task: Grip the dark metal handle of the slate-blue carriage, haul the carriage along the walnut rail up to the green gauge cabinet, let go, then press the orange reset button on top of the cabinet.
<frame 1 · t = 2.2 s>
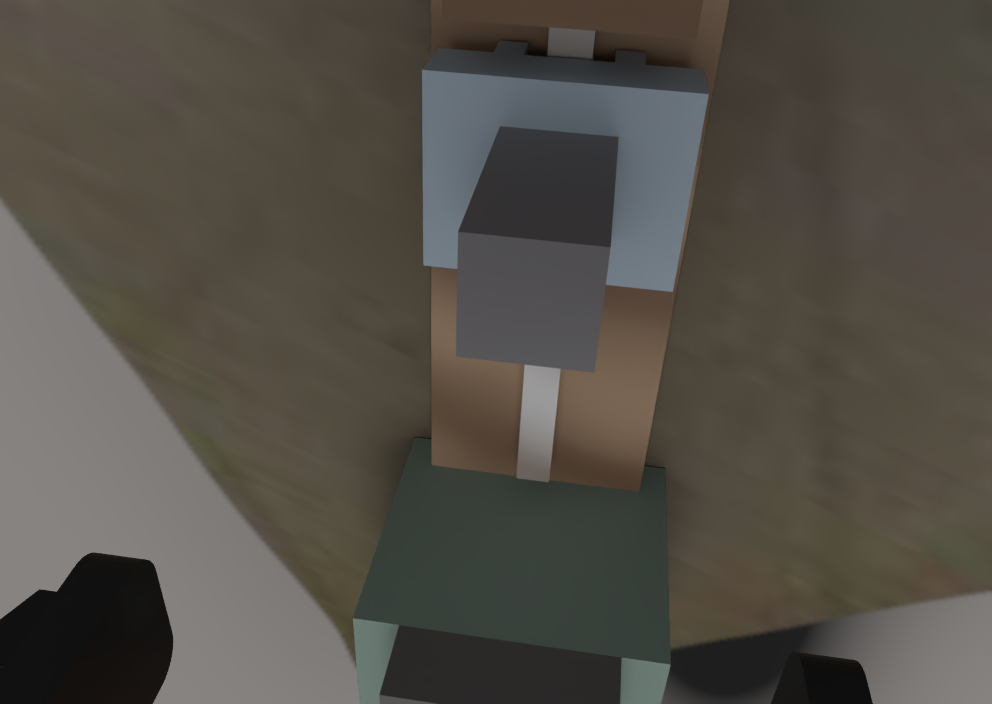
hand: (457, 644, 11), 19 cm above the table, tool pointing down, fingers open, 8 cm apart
gauge cabinet: (532, 515, 36), on the table
carriage: (549, 209, 22), point 6 cm above the table, slide at -4.0 cm
rail stand: (557, 237, 29), on the table
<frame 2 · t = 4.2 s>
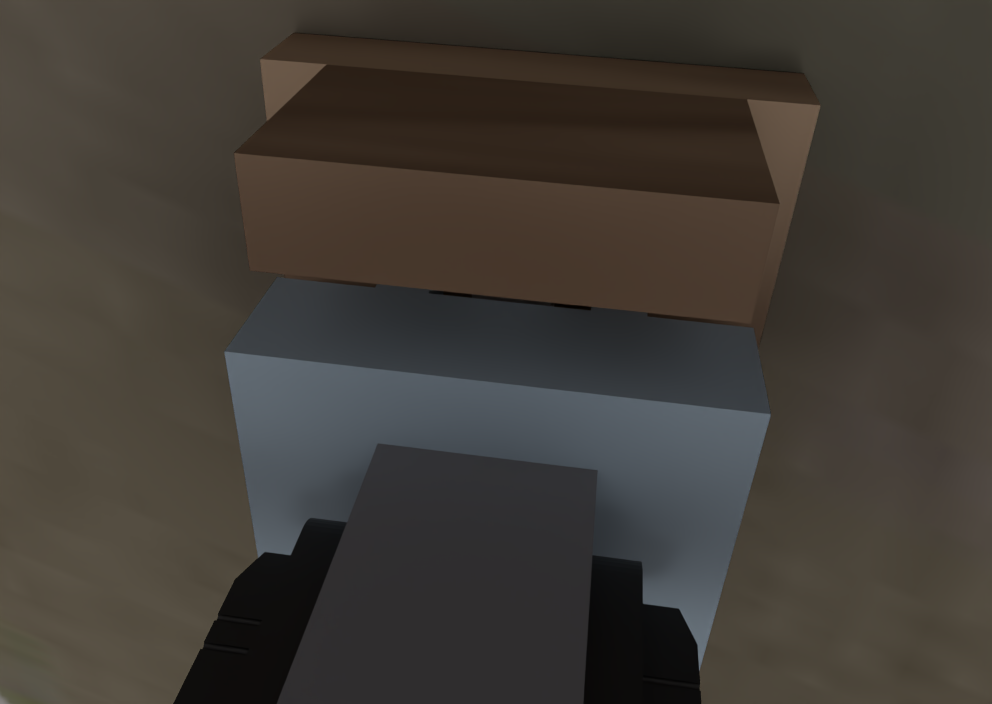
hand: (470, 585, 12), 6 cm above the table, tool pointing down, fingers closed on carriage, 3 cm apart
carriage: (466, 612, 11), point 6 cm above the table, slide at -4.0 cm, touching gripper
rail stand: (511, 497, 19), on the table
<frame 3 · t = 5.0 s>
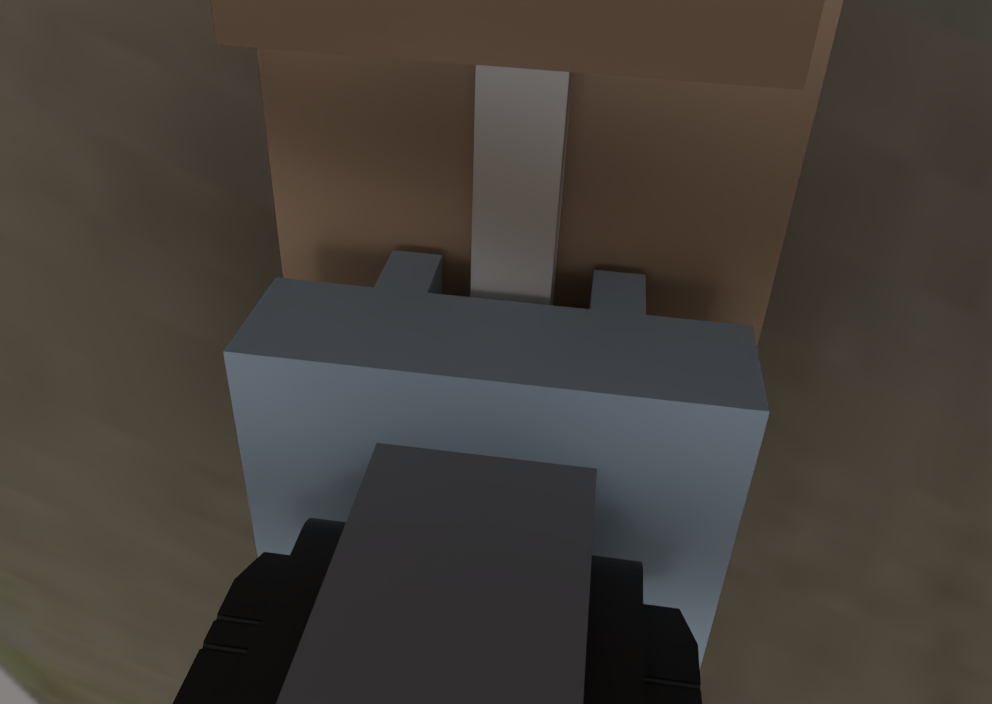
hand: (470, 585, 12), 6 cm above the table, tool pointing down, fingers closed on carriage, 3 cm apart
carriage: (466, 611, 11), point 6 cm above the table, slide at -1.3 cm, touching gripper
rail stand: (517, 399, 17), on the table
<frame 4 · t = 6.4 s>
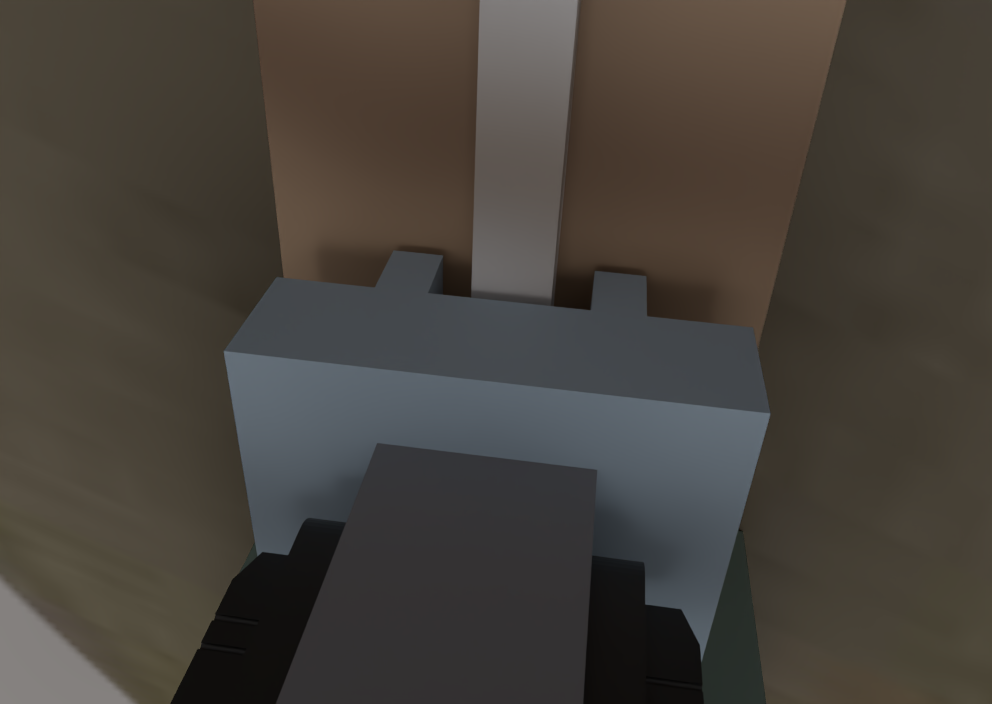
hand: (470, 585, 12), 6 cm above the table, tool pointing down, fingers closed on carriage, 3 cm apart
gauge cabinet: (503, 607, 21), on the table
carriage: (466, 612, 11), point 6 cm above the table, slide at 5.4 cm, touching gripper
rail stand: (540, 61, 14), on the table
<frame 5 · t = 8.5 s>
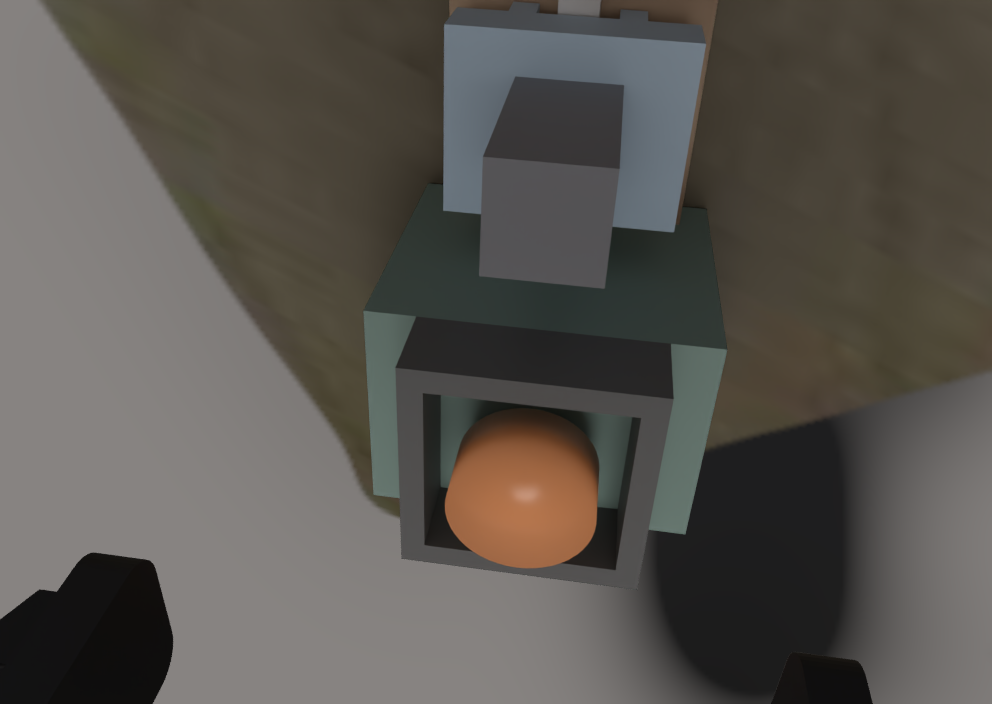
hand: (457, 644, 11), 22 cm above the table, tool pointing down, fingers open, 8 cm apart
gauge cabinet: (557, 280, 33), on the table
reset button: (524, 489, 24), point 12 cm above the table, slide at 0.0 cm
carriage: (561, 151, 24), point 6 cm above the table, slide at 5.4 cm
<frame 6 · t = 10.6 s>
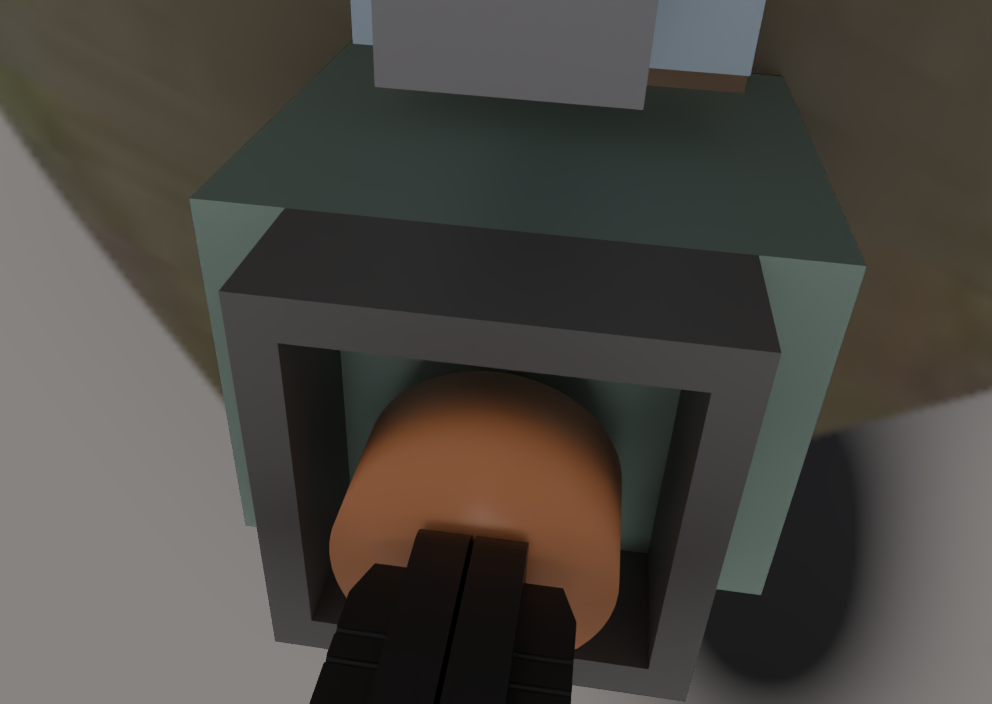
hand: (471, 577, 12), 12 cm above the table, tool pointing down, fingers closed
gauge cabinet: (550, 197, 22), on the table
reset button: (482, 522, 13), point 11 cm above the table, slide at 0.1 cm, touching gripper
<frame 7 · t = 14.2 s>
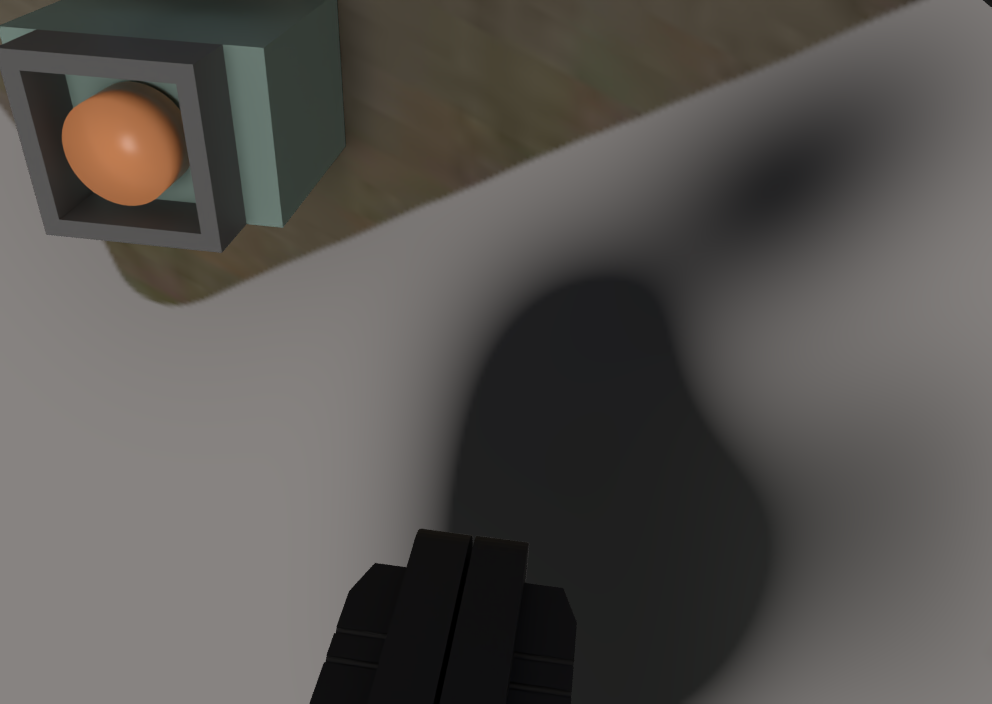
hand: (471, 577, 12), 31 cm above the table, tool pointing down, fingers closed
gauge cabinet: (236, 64, 40), on the table
reset button: (129, 144, 32), point 10 cm above the table, slide at 1.2 cm
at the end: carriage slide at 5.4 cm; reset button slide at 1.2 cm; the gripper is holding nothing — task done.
